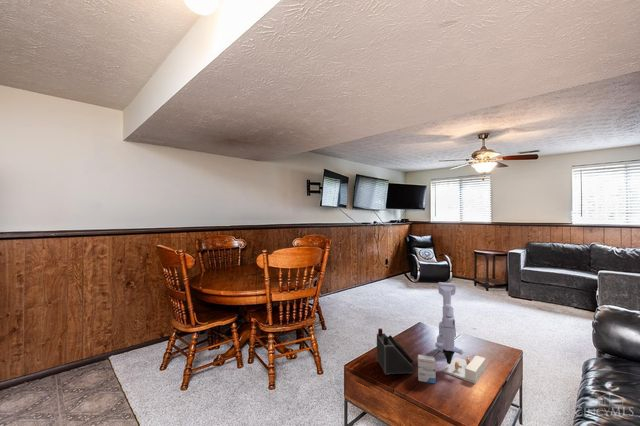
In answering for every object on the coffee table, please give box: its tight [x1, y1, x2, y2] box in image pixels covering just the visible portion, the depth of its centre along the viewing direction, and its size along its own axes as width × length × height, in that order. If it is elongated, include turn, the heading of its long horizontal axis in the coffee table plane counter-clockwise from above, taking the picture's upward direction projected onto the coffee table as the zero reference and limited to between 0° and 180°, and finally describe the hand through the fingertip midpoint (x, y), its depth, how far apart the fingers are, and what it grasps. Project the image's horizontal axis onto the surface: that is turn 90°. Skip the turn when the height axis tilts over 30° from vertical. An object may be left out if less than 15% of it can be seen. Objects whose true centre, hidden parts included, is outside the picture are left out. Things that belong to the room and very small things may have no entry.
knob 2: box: [466, 357, 472, 365], centre depth 158 cm, size 3×4×4 cm
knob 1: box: [455, 362, 462, 370], centre depth 154 cm, size 3×4×4 cm
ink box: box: [417, 354, 437, 384], centre depth 147 cm, size 8×5×12 cm, turn 71°
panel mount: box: [442, 355, 487, 385], centre depth 156 cm, size 16×20×6 cm
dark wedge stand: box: [376, 328, 415, 376], centre depth 159 cm, size 16×16×20 cm
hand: (449, 363), depth 157 cm, fingers closed
